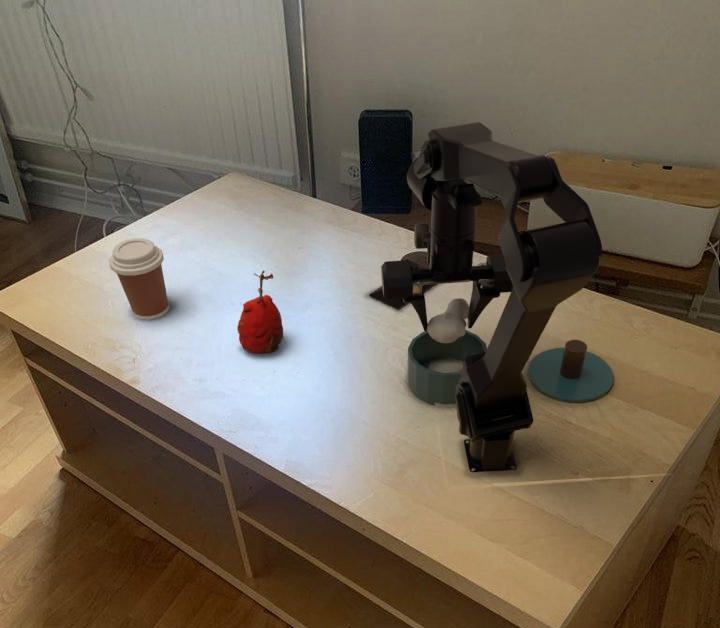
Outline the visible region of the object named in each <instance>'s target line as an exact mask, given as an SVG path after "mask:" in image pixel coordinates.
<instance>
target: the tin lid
mask: <svg viewBox="0 0 720 628" xmlns="http://www.w3.org/2000/svg"><path fill="white" fill-rule="evenodd" d="M527 377H528V380H529V382H530V384H531V385H532V386H533V388H535V390H537V392H539V393H541V394H542V395H544V396H545V397H547V398H550V399H553V400H555V401H559V402H564V403H573V404H575V403H576V404H577V403H579V404H580V403H589V402H592V401H596V400H598V399H601V398H602V397H604V396H605V395H606V394H607V393H608V392H609V391H610V390H611V388H612V387H613V383H614V372H613V370H612V368H611V366H610V365H609V363H608V362H606V361H605V360H604V359H603V358H602V357H600V356H598V355H597V354H595V353H593V352H590V351H588V344H587V343H586V342H585V341H583V340H580V339H570V340H568V341H566V342H565V344H564V347H554V348H550V349H546V350H544V351H541V352H540V353H537V354H536V355H535V356H533V358H532V359H531V360H530V362H529V364H528V368H527Z"/></svg>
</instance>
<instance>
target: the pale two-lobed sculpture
mask: <svg viewBox="0 0 720 628" xmlns="http://www.w3.org/2000/svg"><path fill="white" fill-rule="evenodd" d="M469 306H470V303H468V301H467V300H466V299H464V298H462V297H458V298H453V299H452V300H451V301H449V302H448V304H447V307H446V310H445V311H444V312H443V313H439V314H437V315H434V316H432V317H431V318H430V319H429V321H427V322H428V326H427V331H428V333H429V335H430V336H431V337H432V338H433V339H434V340H436V341H438V342H441V343H451V342H454V341H456V340H457V339H458V338H459V337H461V336H464V335H465V330H466V327H467V321H466V320H468V311H469Z"/></svg>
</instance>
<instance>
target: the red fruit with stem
mask: <svg viewBox="0 0 720 628" xmlns="http://www.w3.org/2000/svg"><path fill="white" fill-rule="evenodd" d="M265 272H266V271H265V270H262V271H261V274H260V275H258V274H257V273H255V272H254V273H253V275H254V276H256V277H258V278H259V287H258V288H257V291H258V293H259V296H257V297H255V298H252V299H250V300H247V301H245V302H244V303H243V304H242V305H243V309H242V311H241V313H240V318H239V320H238V323H237V326H236V327H237V333H238V341H239V344H240V345H241V347H242V349H243V350H246V352H248V353H251V354H254V355H267V354H273V353H275V352H277V351H278V350H279V348H280V345H281V343H282V341H283V340H284V326H283V319H282V315H281V311H280V310H279V308H278V307H277V305H276V304H275V303H274V302H273V298H272V296H270V295H268V294H264V295H263V293H264V291H263V283H264V280H266V281H269V280H273V279H274V275H273V273H272V272H271V273H270V274H268V275H264V273H265Z"/></svg>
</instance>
